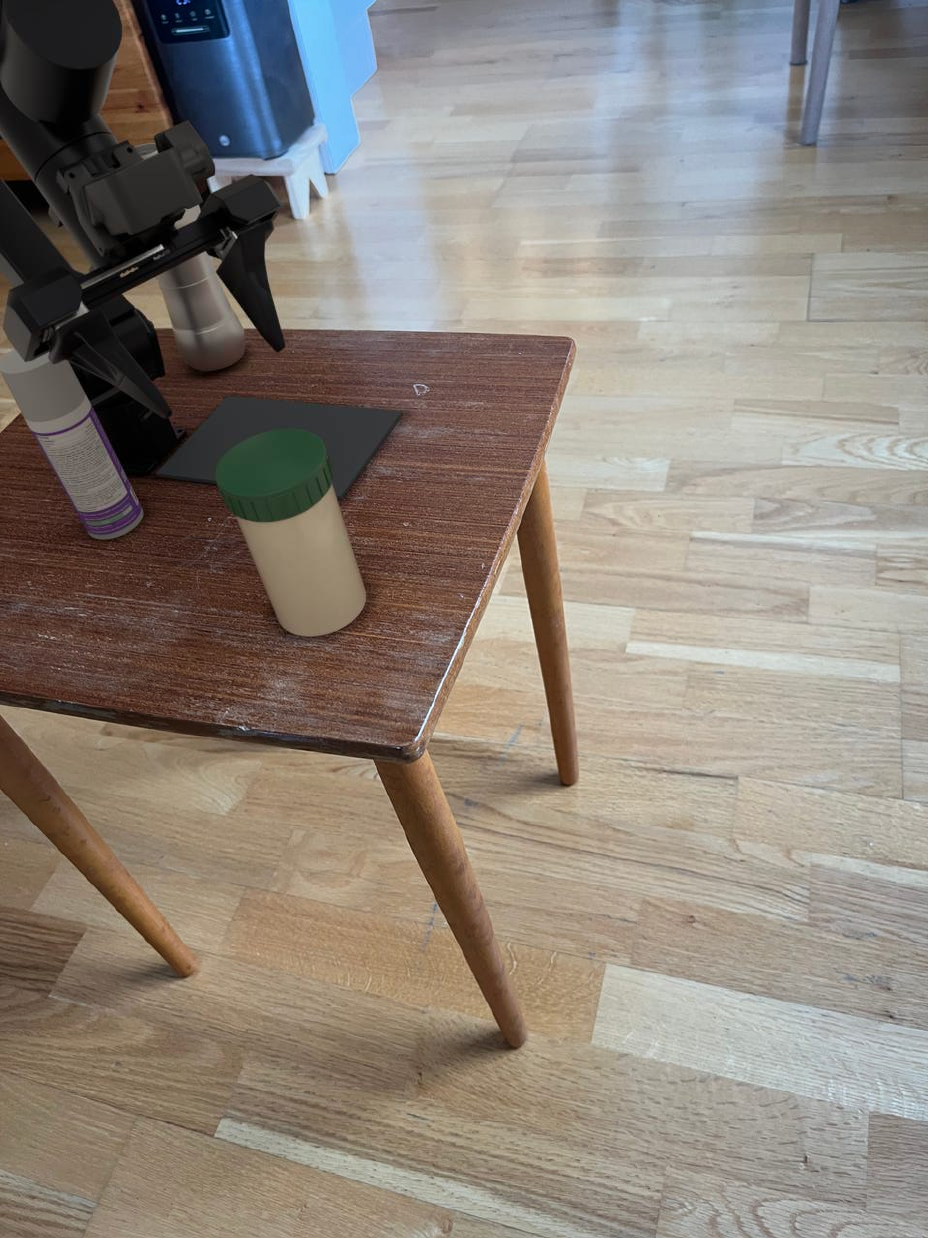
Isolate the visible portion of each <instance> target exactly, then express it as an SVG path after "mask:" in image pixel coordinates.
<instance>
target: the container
mask: <svg viewBox="0 0 928 1238" xmlns="http://www.w3.org/2000/svg"><path fill="white" fill-rule="evenodd" d="M48 355H49V352H48V353H46V354H44V355H42V356H40V357H38V358H36V359H35V360H33V361H28V362H24V360H23V359H22V358H21V356H20V355H19V354H18V352H17V351H16V349H15V348H14V349H11V350H10V351H8V352H7V353H6V354H5V355H4V356H3V357H1V359H0V375H1V377H2V378H3V380H4V382H5V384H6V386H7V388H8V390H9V392H10V394H11V395H12V397H13V400H14V401H15V403H16V405H17V407H18V409H19V412H20V413H21V415H22V417H23V419H24V420H25V422H26V424H27V426H28V428H29V430H30V432H31V433H32V435H33V437H34V439H35V440H36V443H37V445H38V446H39V448H40V449H41V451H42V454H43V455H44V457H45V459H46V461H47V462H48V464H49V466H50V468H51V470H52V471H53V473H54V475H55V477H56V478H57V480H58V482H59V484H60V485H61V487H62V489H63V491H64V493H65V494H66V496H67V498H68V500H69V502H70V504H71V505H72V507H73V510H74V511H75V512H76V515H77V516H78V518H79V520H80V521H81V523H82V525H83V526H84V529H85V530H86V532H87V533H88V535H89V536H90V537H92V538H93V539H96V540H112V539H116V538H119V537H121V536H124V535H126V534H128V533H130V532H131V531H132V530H134V529H135V528H137V526H139V524H140V523H141V521H142V520H143V518H144V509H143V507H142V505H141V503H140V500H139V499H138V497H137V495H136V493H135V491H134V489H133V486H132V484H131V482H130V480H129V479H128V476H127V473H125V472H124V470H123V468H122V466H121V464H120V462H119V460H118V458H117V456H116V454H115V452H114V450H113V448H112V446H111V444H110V442H109V440H108V438H107V436H106V434H105V432H104V430H103V428H102V426H101V424H100V422H99V419H98V417H97V415H96V413H95V411H94V409H93V407H92V405H91V403H90V402H89V400H88V398H87V396H86V394H85V392H84V390H83V388H82V387H81V385H80V383H79V381H78V379H77V377H76V375H75V373H74V371H73V369H72V368H71V366H70V364H69V362H68V361H67V360H64V361H62V362H60V363H58V364H52V363H51V362H50V360H49V359H48Z"/></svg>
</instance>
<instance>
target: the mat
mask: <svg viewBox="0 0 928 1238" xmlns="http://www.w3.org/2000/svg"><path fill="white" fill-rule="evenodd" d="M403 414H404V413H403V411H402V410H395V409H383V408H373V407H372V408H371V407H360V406H348V405H338V404H327V403H326V404H325V403H314V402H305V401H304V402H302V401H291V400H278V399H267V398H256V397H246V396H245V397H243V396H233V395H228V396H227V397H226V398H225V399H224V400H223V401H222V402H221V403H220V405H218V406H217V408H216V409H215V410H214V411H213V412H212V413H211V414H210V415H209V416H208V417H207V418H206V419H205V420H204V421H203V422H202V423H201V425H200V426H199V427H198V428H197V429H196V430H195V431H194V432H193V433H192V434H191V435H190V436H189V437H188V438H187V440H186V441H184V443H183V444H181V446H179V448H178V449H177V450H176V451H175V452H174V453H173V454H172V455H171V457H169V458H168V459H167V460H166V462H165V463H163V465H162V466H161V467H160V468H158V470H157V471H156V472H155V474H156V477H158V478H165V479H172V480H180V481H187V482H196V483H203V484H210V485H211V484H213V485H217V481H216V476H215V473H216V468H217V465H218V463H219V462H220V460H221V459H222V457H223V456H224V455H225V454H226V453H227V452H228V451H229V450H230V449H232V448H233V447H234V446H236V445H237V444H239V443H240V442H242V441H244V440H246V439H248V438H250V437H253V436H255V435H258V434H261V433H264V432H268V431H273V430H279V429H300V430H305V431H308V432H311V433H313V434H315V435H317V436H318V437H319V438H320V439H321V440H322V441H323V443H324V445H325V449H326V450H327V451H328V454H329V457H330V460H331V464H332V467H333V470H332V472H333V476H334V478H333V481H332V484H333V487H334V490H335V493H336V496H337V500H338V501H342V500H343V499H344V497H345V496H346V495H347V493H348V492H349V490H350V488H351V487H352V486H353V485H354V483H355V482H356V480H358V478H359V477H360V475H361V474H362V472H363V471H364V470H365V468H366V467H367V466H368V464H369V463H370V461H371V460H372V458H373V457H374V455H375V454H376V453H377V451H378V450H379V449H380V447H381V446H382V444H383V443H384V442H385V440H386V439H387V437H388V436H389V435H390V433H391V432H392V430H393V429H395V426H396V425H397V423H398V422H399V421H400V419H401V418H402V417H403Z"/></svg>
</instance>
